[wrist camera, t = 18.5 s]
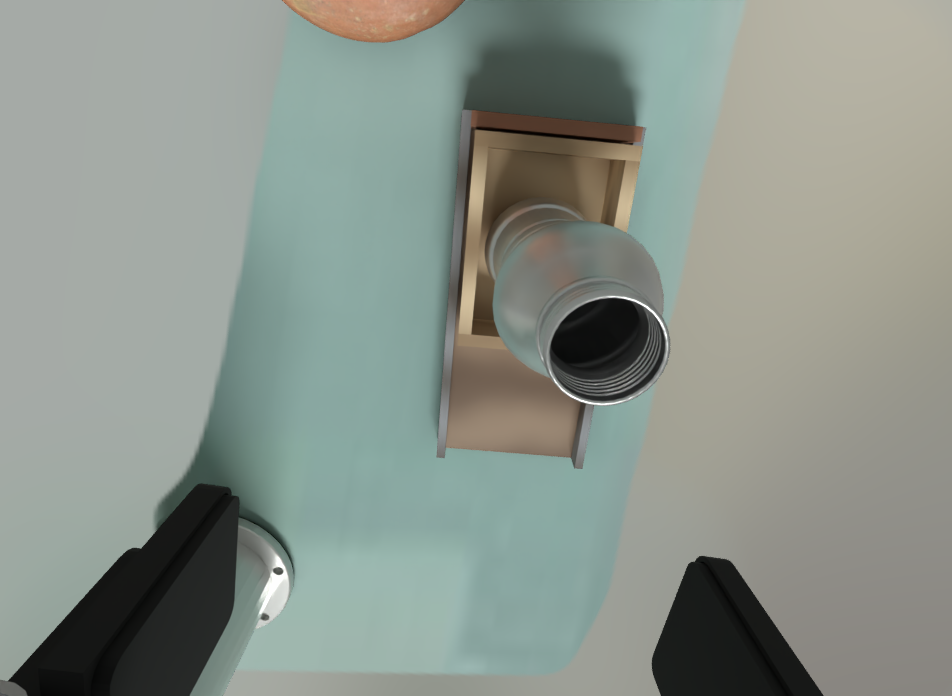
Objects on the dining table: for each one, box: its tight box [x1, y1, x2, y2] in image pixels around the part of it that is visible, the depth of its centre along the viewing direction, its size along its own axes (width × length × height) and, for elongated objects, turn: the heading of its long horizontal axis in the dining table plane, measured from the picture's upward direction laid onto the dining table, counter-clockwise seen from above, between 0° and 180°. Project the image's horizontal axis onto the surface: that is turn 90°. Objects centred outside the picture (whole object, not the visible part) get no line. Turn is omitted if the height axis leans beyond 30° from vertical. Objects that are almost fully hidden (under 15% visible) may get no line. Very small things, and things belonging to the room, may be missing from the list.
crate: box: [458, 130, 643, 350], centre depth 33 cm, size 13×9×4 cm
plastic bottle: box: [484, 197, 670, 406], centre depth 24 cm, size 6×7×20 cm
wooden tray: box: [437, 110, 646, 469], centre depth 35 cm, size 24×11×4 cm, turn 175°
